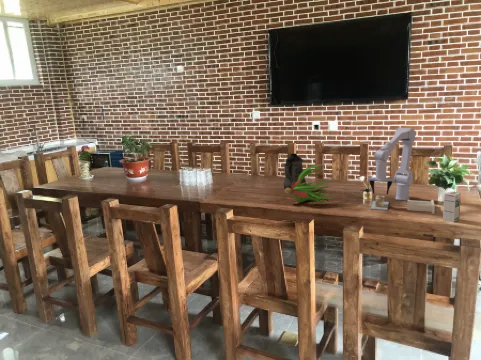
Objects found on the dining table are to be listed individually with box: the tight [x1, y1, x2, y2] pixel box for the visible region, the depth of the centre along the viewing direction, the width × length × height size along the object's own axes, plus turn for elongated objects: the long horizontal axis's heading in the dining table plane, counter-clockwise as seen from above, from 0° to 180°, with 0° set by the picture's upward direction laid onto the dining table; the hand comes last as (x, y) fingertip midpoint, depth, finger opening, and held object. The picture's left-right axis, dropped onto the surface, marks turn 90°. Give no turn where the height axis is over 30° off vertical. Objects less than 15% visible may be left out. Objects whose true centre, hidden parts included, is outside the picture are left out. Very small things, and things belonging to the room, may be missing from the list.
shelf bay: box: [406, 199, 436, 215], centre depth 223 cm, size 16×14×4 cm
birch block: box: [375, 195, 385, 207], centre depth 231 cm, size 4×7×5 cm, turn 158°
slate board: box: [370, 200, 390, 211], centre depth 232 cm, size 16×9×1 cm, turn 157°
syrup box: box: [442, 190, 462, 223], centre depth 202 cm, size 6×6×14 cm
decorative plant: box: [284, 163, 333, 205], centre depth 246 cm, size 26×25×30 cm
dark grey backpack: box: [282, 153, 307, 190], centre depth 280 cm, size 16×19×25 cm
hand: (380, 193), depth 231 cm, fingers open, 7 cm apart
